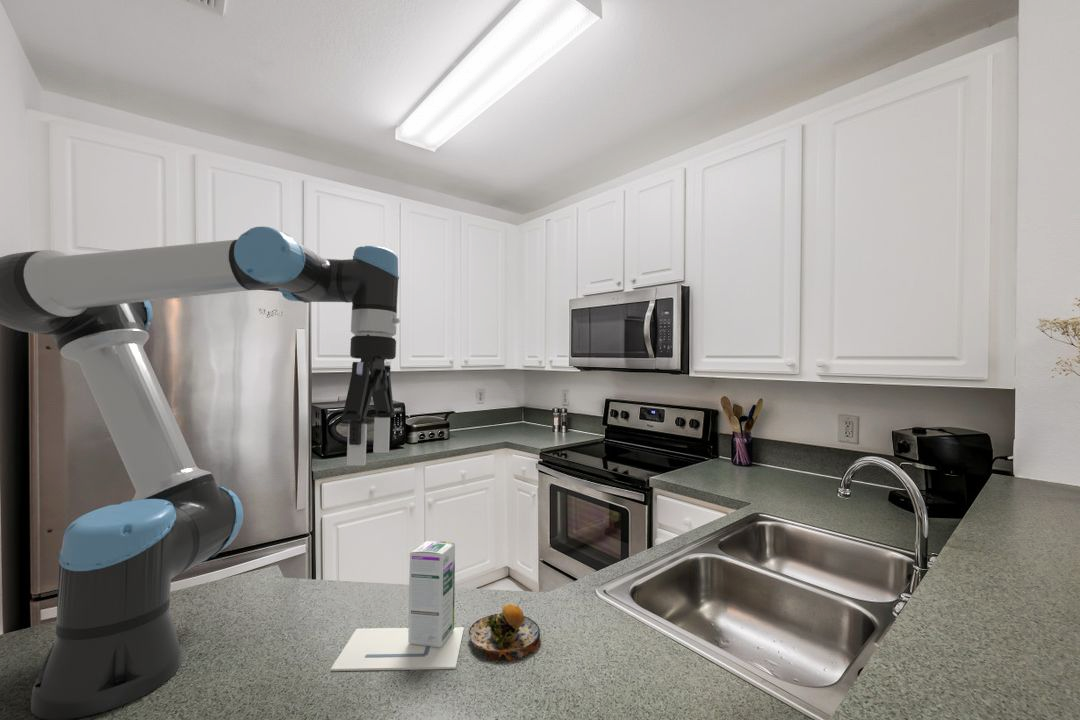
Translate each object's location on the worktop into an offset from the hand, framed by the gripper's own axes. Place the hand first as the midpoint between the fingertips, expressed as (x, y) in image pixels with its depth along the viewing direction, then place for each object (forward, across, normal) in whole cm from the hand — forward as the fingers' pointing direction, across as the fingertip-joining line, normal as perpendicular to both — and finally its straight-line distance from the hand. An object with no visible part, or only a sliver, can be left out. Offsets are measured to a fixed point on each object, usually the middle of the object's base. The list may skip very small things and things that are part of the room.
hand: (369, 458), depth 80 cm
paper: (+29, -6, -8) cm, 30 cm away
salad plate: (+29, -4, -24) cm, 38 cm away
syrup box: (+28, -4, -12) cm, 31 cm away
